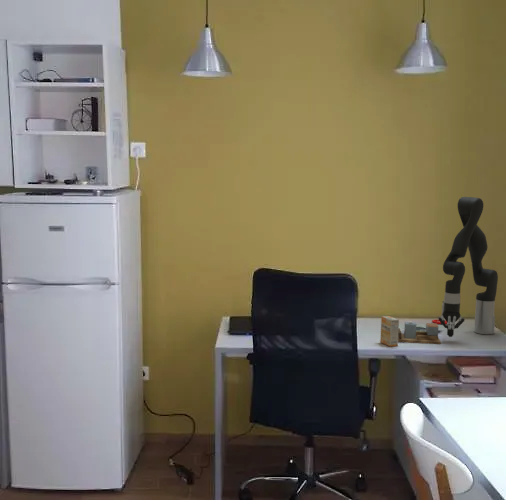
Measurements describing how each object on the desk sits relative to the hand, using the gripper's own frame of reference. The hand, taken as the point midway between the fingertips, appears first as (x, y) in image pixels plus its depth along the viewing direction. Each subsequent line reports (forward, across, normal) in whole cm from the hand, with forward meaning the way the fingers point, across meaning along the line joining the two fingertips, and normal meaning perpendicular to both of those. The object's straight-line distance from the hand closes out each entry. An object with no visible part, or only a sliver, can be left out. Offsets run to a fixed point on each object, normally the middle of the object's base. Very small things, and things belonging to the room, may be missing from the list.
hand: (450, 336), depth 321 cm
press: (+3, -15, 0) cm, 16 cm away
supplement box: (+3, -30, -11) cm, 32 cm away
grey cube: (+1, -9, 0) cm, 9 cm away
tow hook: (+3, +2, +41) cm, 41 cm away
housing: (+1, -19, 0) cm, 19 cm away
